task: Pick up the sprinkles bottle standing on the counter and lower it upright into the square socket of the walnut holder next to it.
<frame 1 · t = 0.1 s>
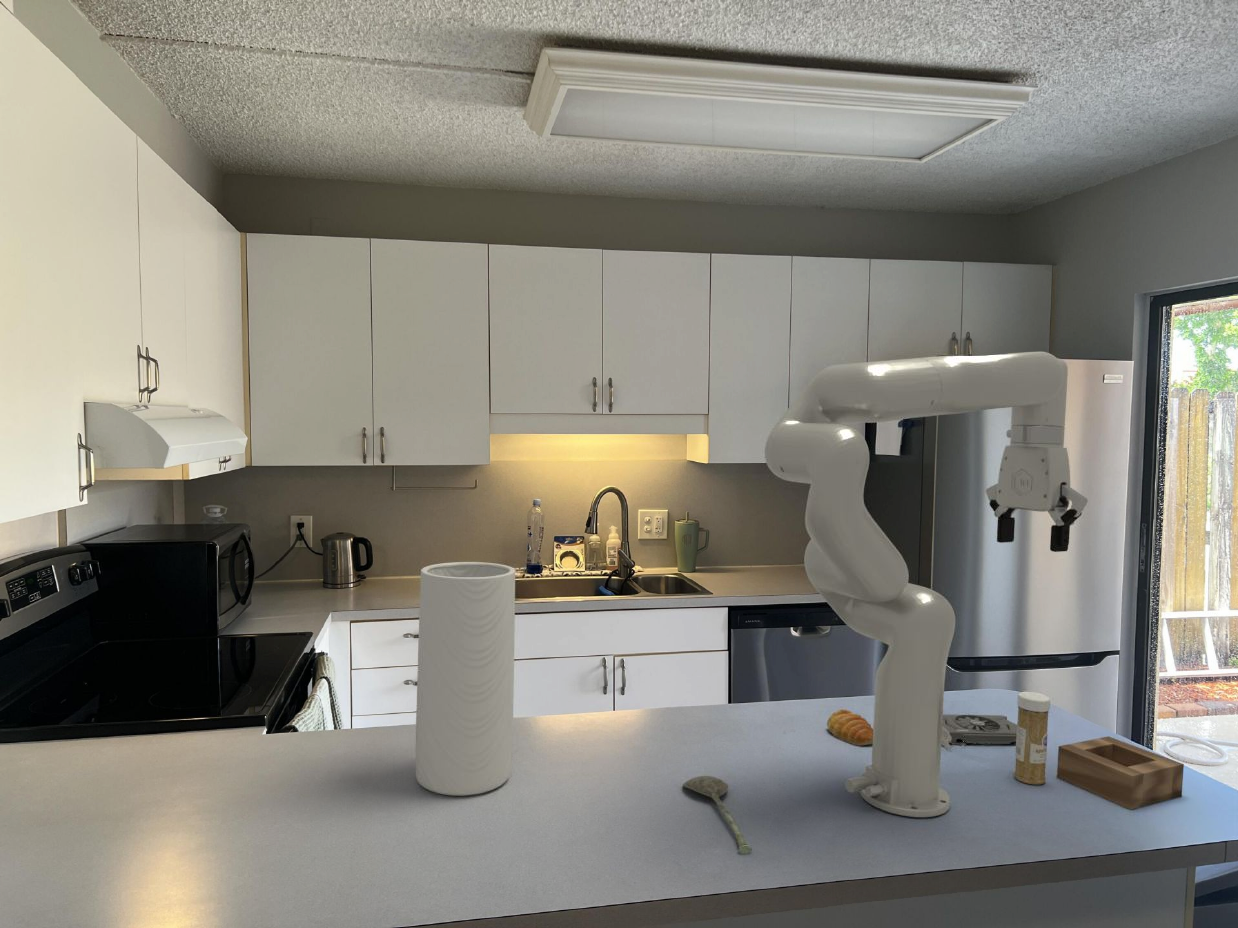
hand: (1031, 546, 132), 37 cm above the counter, tool pointing down, fingers open, 9 cm apart
walnut holder: (1117, 786, 130), on the counter
sprinkles bottle: (1029, 780, 132), on the counter
soupspoon: (719, 818, 117), on the counter
pastry: (851, 737, 148), on the counter
vase: (463, 779, 126), on the counter
graphics card: (974, 742, 149), on the counter
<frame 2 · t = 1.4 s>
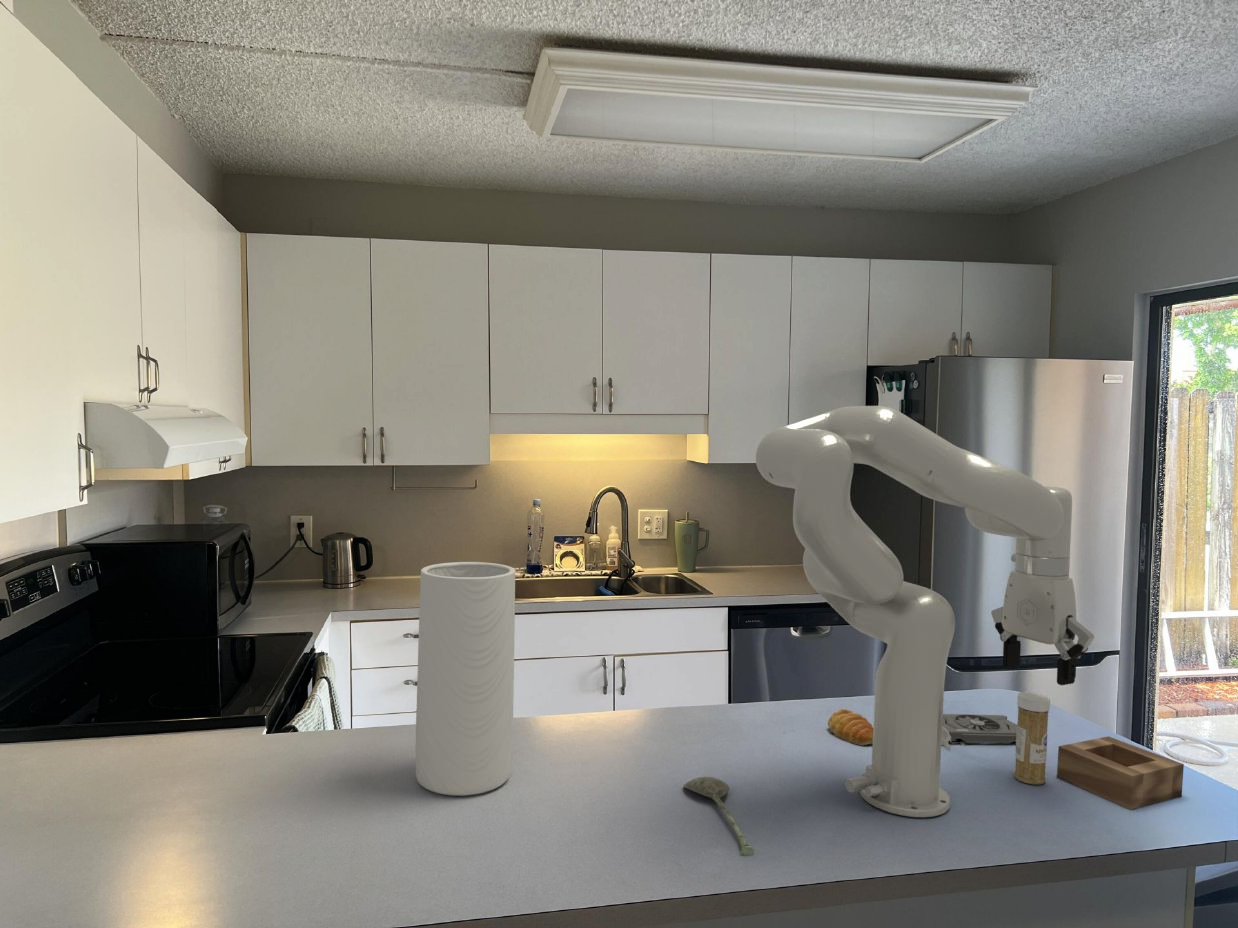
hand: (1037, 674, 131), 17 cm above the counter, tool pointing down, fingers open, 9 cm apart
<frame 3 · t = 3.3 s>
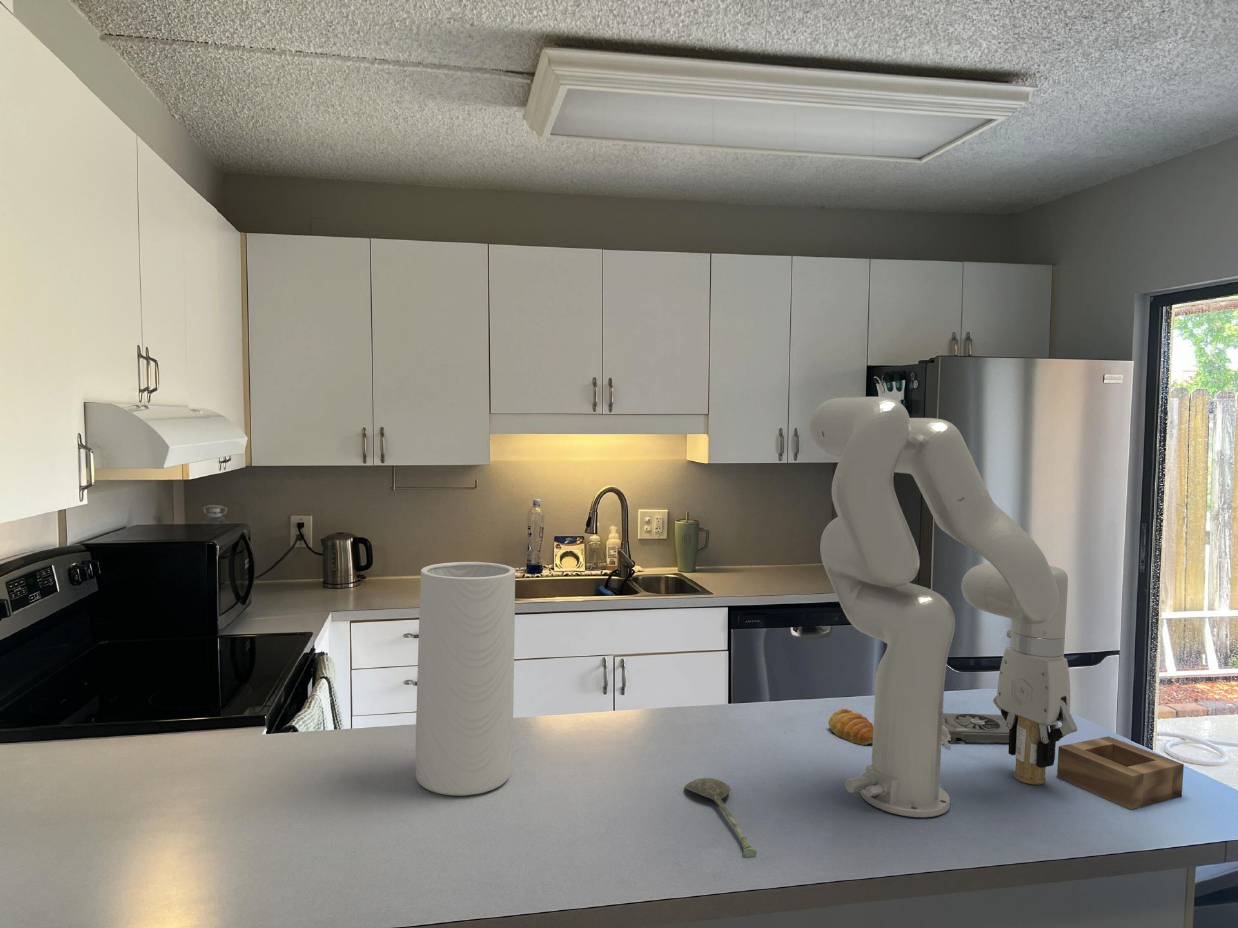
hand: (1030, 758, 132), 3 cm above the counter, tool pointing down, fingers closed on sprinkles bottle, 4 cm apart
sprinkles bottle: (1029, 780, 132), on the counter, touching gripper
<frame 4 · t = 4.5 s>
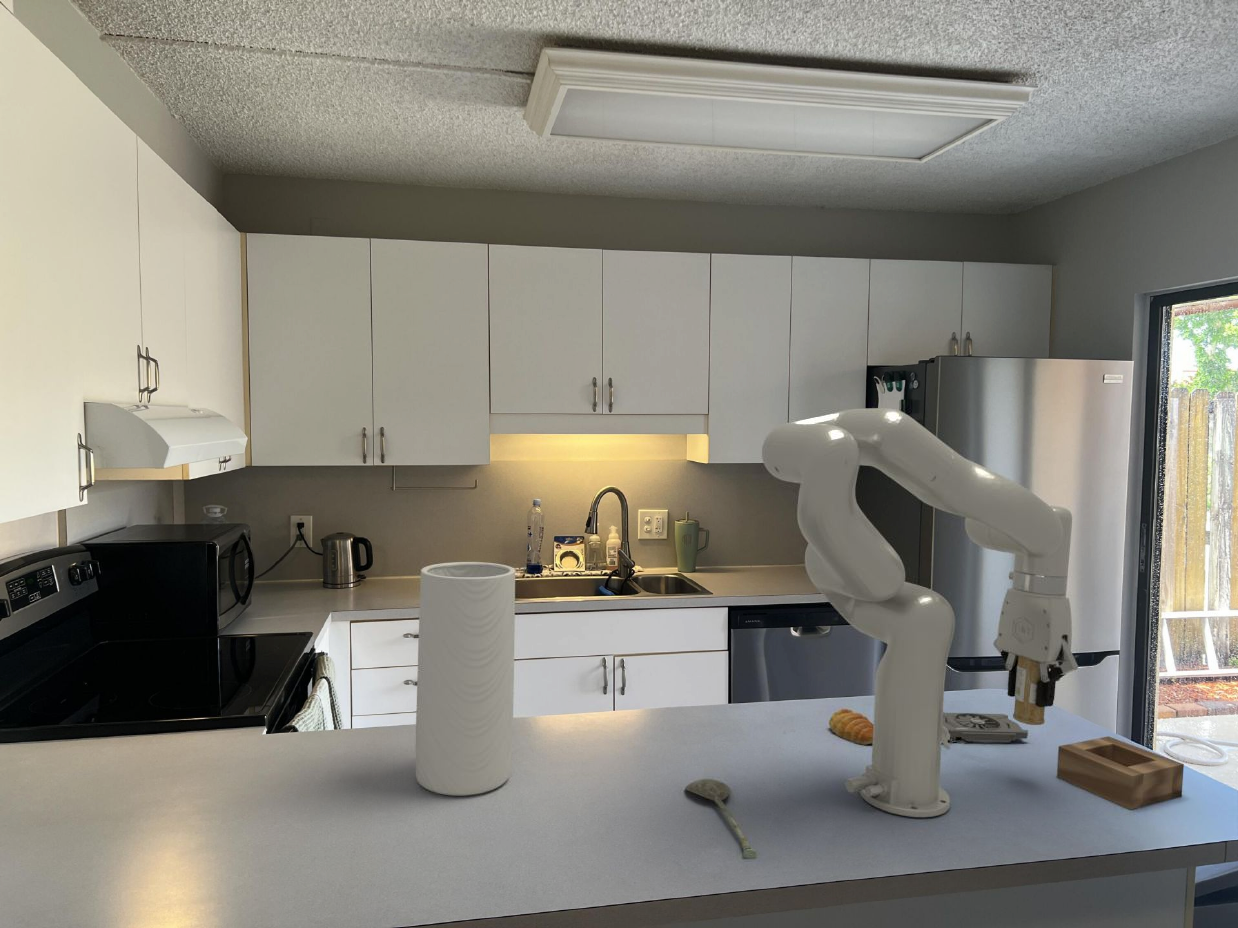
hand: (1029, 699, 131), 13 cm above the counter, tool pointing down, fingers closed on sprinkles bottle, 4 cm apart
sprinkles bottle: (1028, 722, 131), point 9 cm above the counter, touching gripper
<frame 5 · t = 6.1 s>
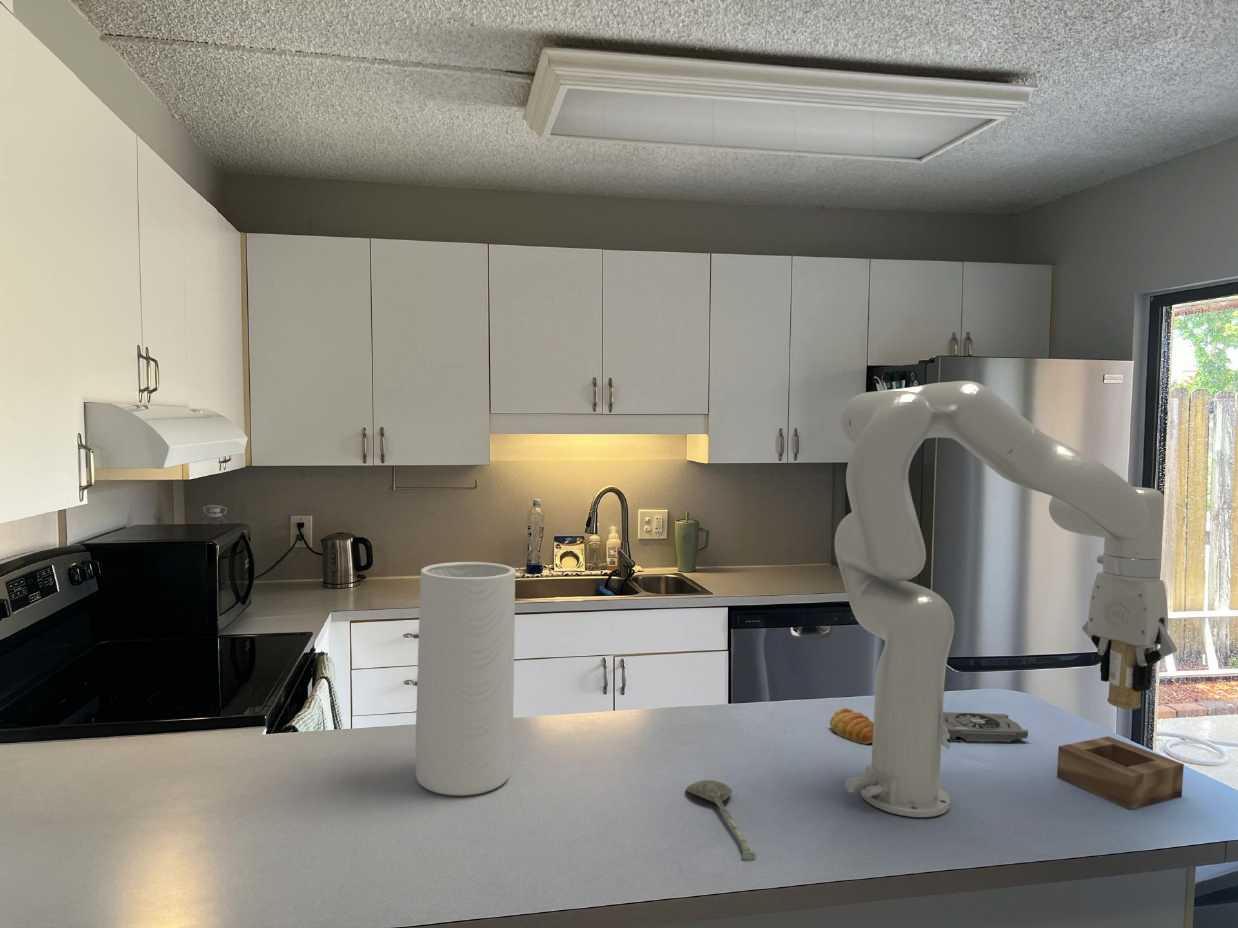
hand: (1124, 683, 129), 16 cm above the counter, tool pointing down, fingers closed on sprinkles bottle, 4 cm apart
sprinkles bottle: (1123, 706, 130), point 13 cm above the counter, touching gripper
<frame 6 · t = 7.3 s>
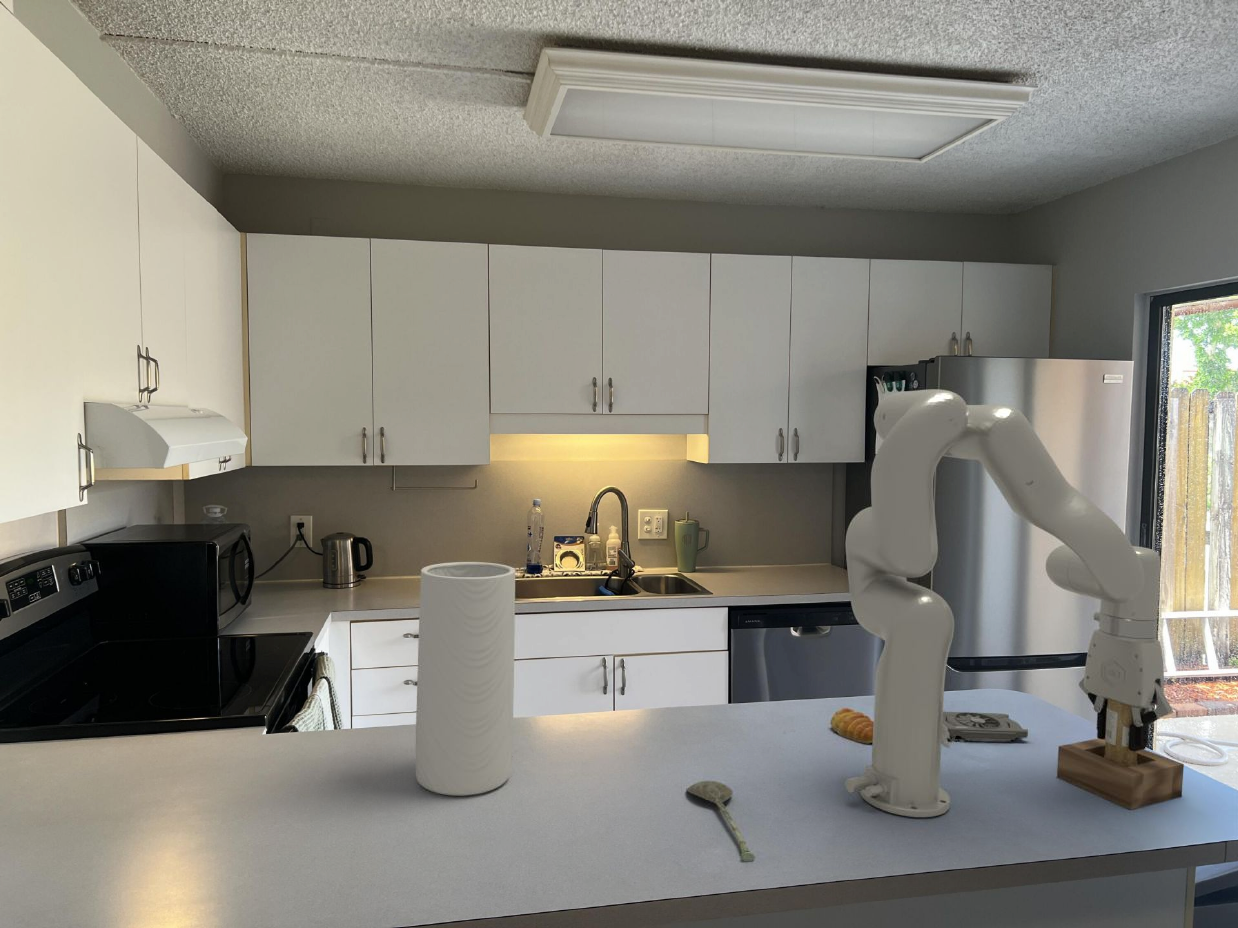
hand: (1121, 742, 130), 7 cm above the counter, tool pointing down, fingers closed on sprinkles bottle, 4 cm apart
sprinkles bottle: (1119, 764, 130), point 3 cm above the counter, touching gripper
when the fingers open (6 cm above the counter, at t = 7.8 s): sprinkles bottle drops 2 cm, resting on walnut holder.
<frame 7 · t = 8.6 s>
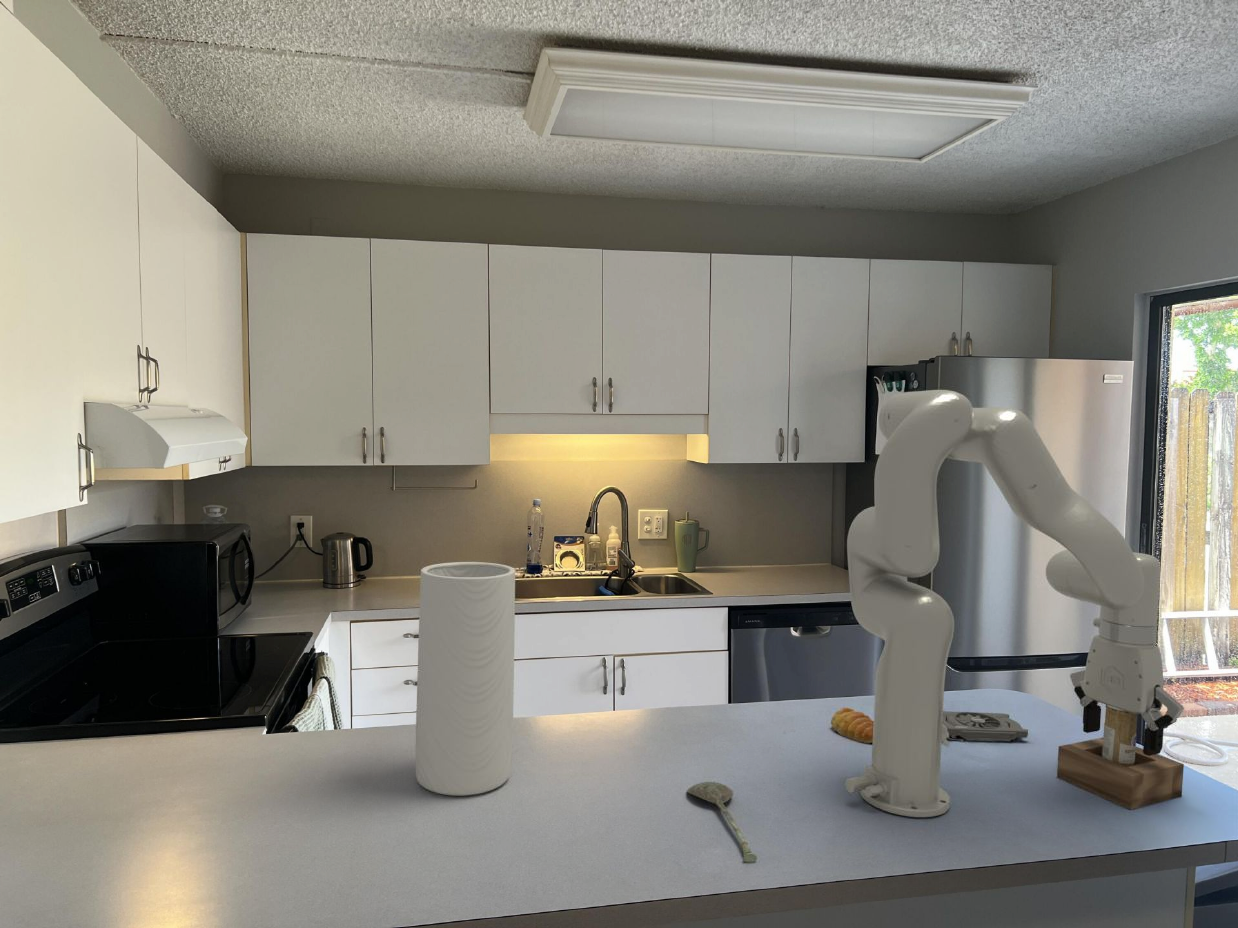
hand: (1120, 742, 130), 7 cm above the counter, tool pointing down, fingers open, 9 cm apart
sprinkles bottle: (1116, 780, 130), point 1 cm above the counter, touching walnut holder
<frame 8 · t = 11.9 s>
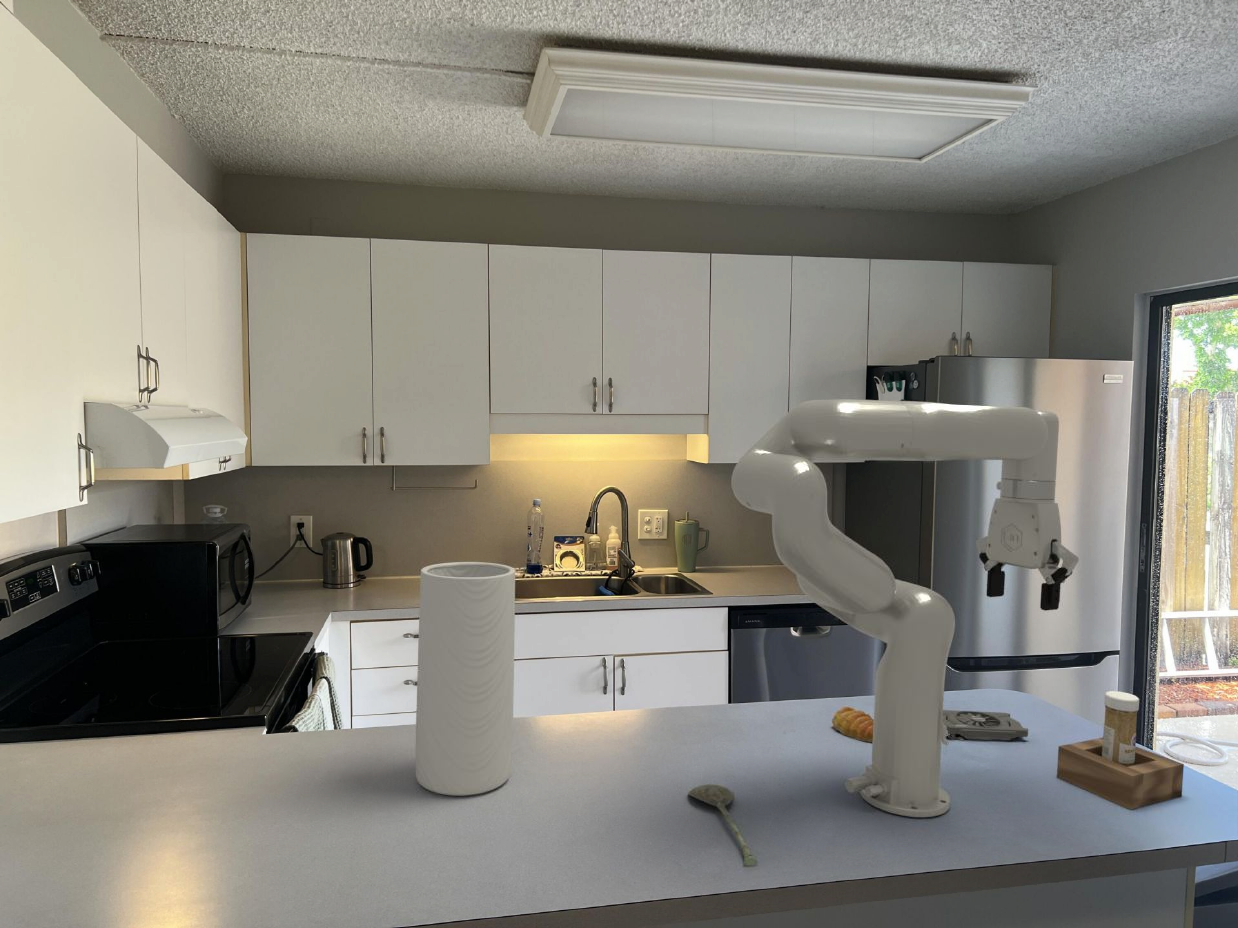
hand: (1021, 602, 129), 28 cm above the counter, tool pointing down, fingers open, 9 cm apart
at the end: sprinkles bottle 0.3 cm off-centre on the walnut holder, point 0.8 cm above the walnut holder's base; sprinkles bottle tilted 0°; the gripper is holding nothing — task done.
